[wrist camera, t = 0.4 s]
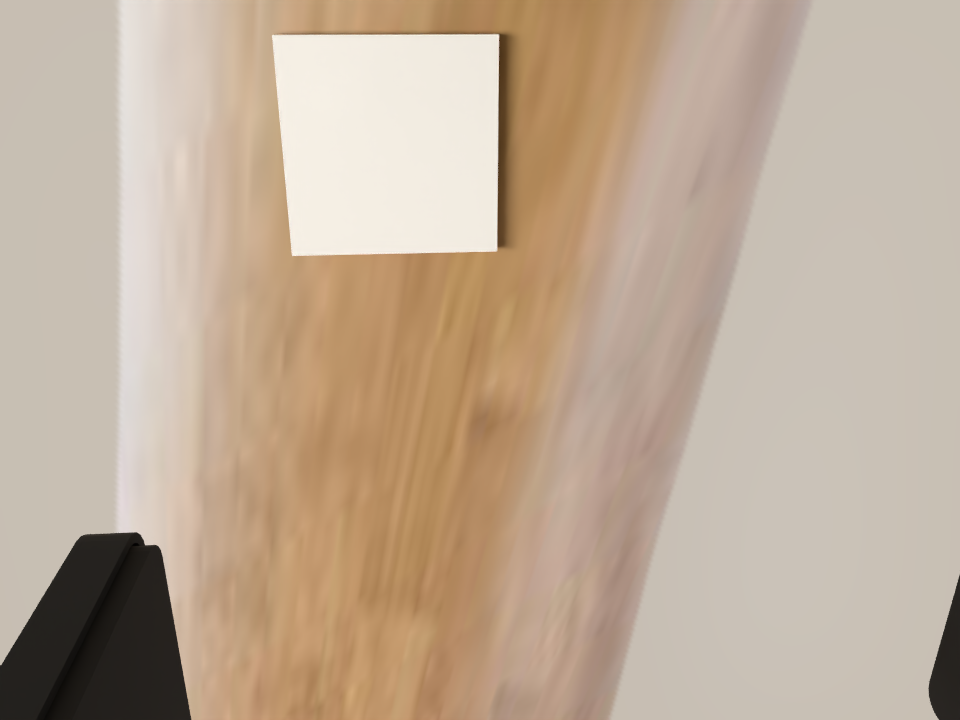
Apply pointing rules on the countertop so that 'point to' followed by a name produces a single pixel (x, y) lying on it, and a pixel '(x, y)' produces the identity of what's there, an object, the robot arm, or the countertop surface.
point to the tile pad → (389, 141)
